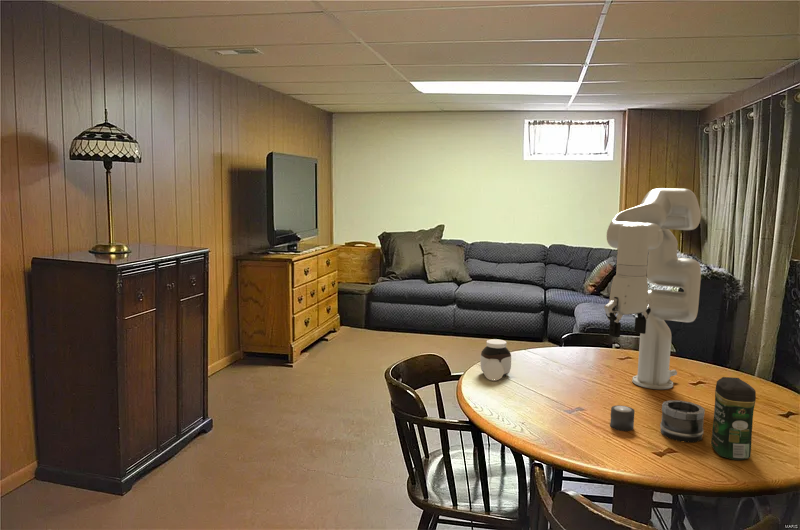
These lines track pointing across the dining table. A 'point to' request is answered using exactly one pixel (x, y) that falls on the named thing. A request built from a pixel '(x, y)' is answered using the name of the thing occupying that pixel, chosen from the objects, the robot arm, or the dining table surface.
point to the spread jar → (495, 359)
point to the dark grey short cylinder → (622, 418)
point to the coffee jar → (733, 418)
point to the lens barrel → (682, 420)
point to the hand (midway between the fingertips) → (627, 334)
